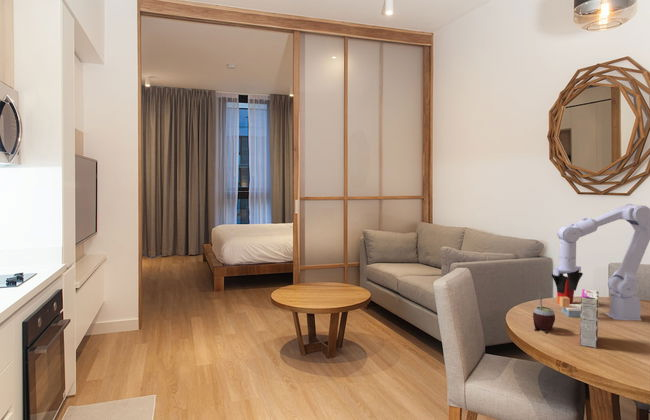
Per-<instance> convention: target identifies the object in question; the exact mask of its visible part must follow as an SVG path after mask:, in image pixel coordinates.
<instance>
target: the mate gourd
mask: <svg viewBox="0 0 650 420" xmlns="http://www.w3.org/2000/svg"><path fill="white" fill-rule="evenodd" d="M537 293H538V295H539V296H538V297H539V305H540V306H537V307H535V309H534V310H533V312H532V313H533V314H532V319H533V327H534V331H535V332H541V331H543V332H544V334H547V335H548V334H549V330H550V331H552V330H553V327H554V324H555V322H556V315H555V312H554V310H553V309H552V308H550V307H548V306H543V301H542V300H543V298H542V297H543V296H542V294H541V293H540V292H537Z"/></svg>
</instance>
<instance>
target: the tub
mask: <svg viewBox="0 0 650 420" xmlns="http://www.w3.org/2000/svg"><path fill="white" fill-rule="evenodd" d="M561 313H562V314H564V315H565V316H566V317H568V318H581V311H568V310H567V309H565V308H564V307H561Z"/></svg>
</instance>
